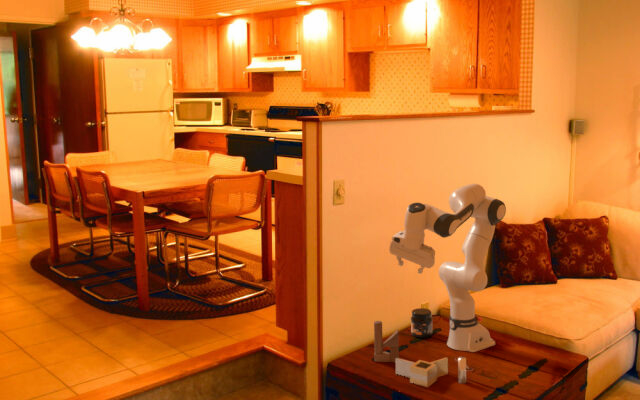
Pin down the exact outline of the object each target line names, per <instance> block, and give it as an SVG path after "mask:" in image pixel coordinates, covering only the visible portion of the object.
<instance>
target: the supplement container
mask: <svg viewBox="0 0 640 400" xmlns="http://www.w3.org/2000/svg"><path fill="white" fill-rule="evenodd" d="M410 323H411V324H410V327H411V329H410V334H411V335H412V337H414V338H419V339H425V338H429V337H432V335H433V316H432V311H431V309H428V308H424V307H423V308H422V307H419V308H415V309H412V310H411V316H410Z"/></svg>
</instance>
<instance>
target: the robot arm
mask: <svg viewBox="0 0 640 400" xmlns="http://www.w3.org/2000/svg"><path fill="white" fill-rule="evenodd" d="M486 193H487V192H486V190H485V188H484V187H483V186H482V185H481V184H478V183H472V184H470V183H469V184H467V185H463V186H461V187H459V188H457V189H454V191H451V193H450V195H449V197H448V204H449V207H450V209H451V211H452V212H453V213H449V212H447V211H445V210H442V209H439V208H437V207H435V206H432V204H431V205H430V204H427V203H423V202H422V203H421V202H413V203H410V204H409V205H408V206H407V208H406V212H405V215H404V222H403V223H404V224H403V225H404V230H400V231H398V232H396V233H395V234H393V236H392V237H391V241H390V245H389V248H388V251H389V253H390V254H391V255H394V256H396V260H397V263H398V266H400V267H402V266H403V265H404V260H405V261H409V262H411V263H414V264H417V265H419V266H420V267H419V268H418V269H417V273H418V274H420V275H421V274H423V272H424V269H425V268H426V269H431V268H433V267H434V266H435V262H436V259H435V258H436V251H435V249H434V248H433V247H432V246H428V245H426V244H425V235H426V233H425V231H426V230H429V231H430V232H432V233H435V234H436V235H438V236H439V237H441V238H449V237H450V236H451V237H452V235H453V234H454V233H455V232H456V231H457V229H458V228H459V227H460V226H462V225H463V224H464V223H465V222H466V221H468V220H469V219H470V218H474V222H473V223H472V225H471V226H470V229H469V230H468V232H467V235H466V237H465V239H464V241H463V244H462V246H461V252H462V253H463V255H464V262H463V263H462V262H457V261H444V262H443V263H441V265H440V266H439V269H438V276H439V279H440V280H441V281H442V282H443V284H444V286H445V288H446V290H447V293H448V297H449V305H450V306H449V307H450V309H449V310H450V315H449V319H448V320H449V323H448V324H449V334H448V338H447V341H446V345H447V346H448V348H450V349H453V350H456V351H461V352H462V351H464V352H470V353H475V352H476V353H477V352H479V351H481V350H486V349H487V348H489V347H493V346H495V345H496V341H495V339H493V338H492V337H491V335H490V331H489V330H488V329H487V328H486V327H485V326H483V325H482V324H480V323H481V322H482V321H483V318H482V317H481V316H477V315H475V310H476V309H475V308H476V307H475V306H476V305H475V304H476V302H475V301H476V300H475V299H474V297H473V296H472V295H471V294H470V292H481V291H483V290H484V289H485V288H486V286H487V285H488V276H487V273H486V270H485V257H486V255H487V252H488V250H489V247H490V245H491V242H492V241H493V238H494V234H495V229H496V226H497V224H498V223H500V222H501V221H503V219H504V217H505V216H506V213H507V207H506V204H505V202H504V201H502V200H500V199H498V198H493V197H490V196H488V195H487V194H486ZM403 259H404V260H403Z"/></svg>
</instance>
